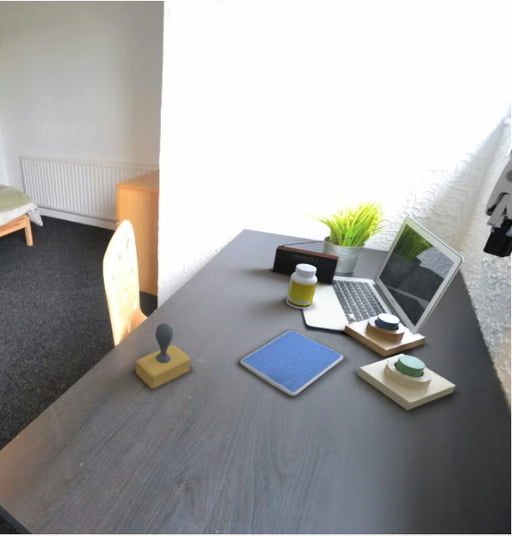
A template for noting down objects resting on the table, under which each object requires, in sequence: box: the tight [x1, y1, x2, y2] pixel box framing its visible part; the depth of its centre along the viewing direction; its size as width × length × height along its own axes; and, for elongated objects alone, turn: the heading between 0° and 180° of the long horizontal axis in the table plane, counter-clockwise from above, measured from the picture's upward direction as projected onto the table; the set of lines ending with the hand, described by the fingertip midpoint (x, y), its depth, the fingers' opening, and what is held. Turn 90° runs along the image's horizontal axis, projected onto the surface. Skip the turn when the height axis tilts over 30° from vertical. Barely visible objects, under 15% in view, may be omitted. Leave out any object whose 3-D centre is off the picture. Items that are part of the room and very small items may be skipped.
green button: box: [396, 354, 426, 377], centre depth 71 cm, size 4×4×2 cm
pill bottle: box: [285, 264, 318, 310], centre depth 98 cm, size 6×6×11 cm
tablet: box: [240, 329, 344, 397], centre depth 79 cm, size 19×13×1 cm, turn 125°
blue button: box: [376, 313, 401, 331], centre depth 84 cm, size 4×4×2 cm
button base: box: [343, 315, 426, 357], centre depth 85 cm, size 12×10×4 cm
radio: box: [271, 237, 353, 286], centre depth 110 cm, size 19×3×15 cm, turn 55°
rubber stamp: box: [135, 322, 191, 389], centre depth 75 cm, size 10×6×12 cm, turn 121°
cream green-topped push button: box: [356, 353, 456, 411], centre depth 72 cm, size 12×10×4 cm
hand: (495, 254), depth 67 cm, fingers closed
